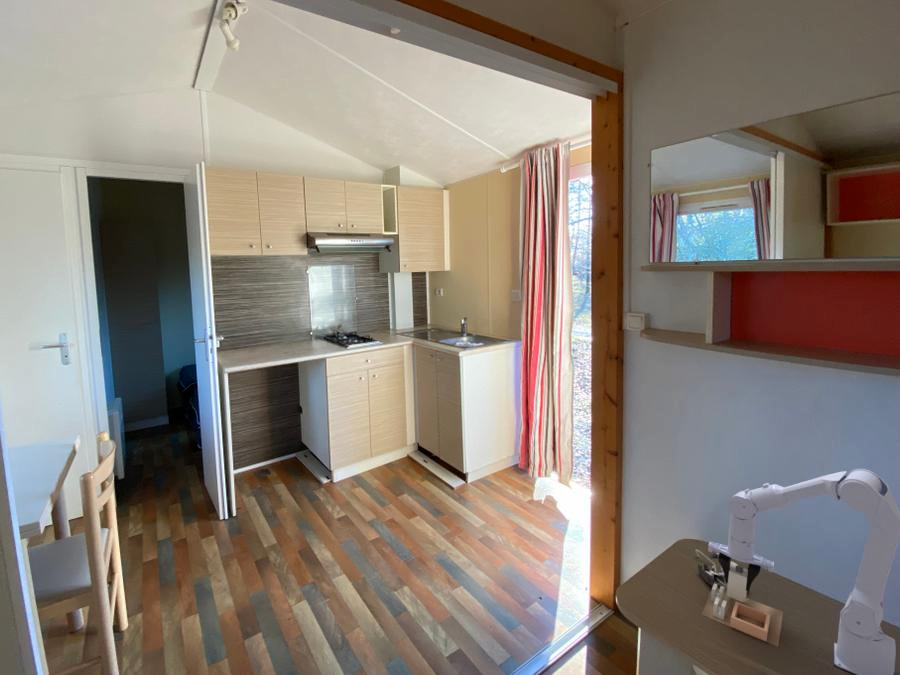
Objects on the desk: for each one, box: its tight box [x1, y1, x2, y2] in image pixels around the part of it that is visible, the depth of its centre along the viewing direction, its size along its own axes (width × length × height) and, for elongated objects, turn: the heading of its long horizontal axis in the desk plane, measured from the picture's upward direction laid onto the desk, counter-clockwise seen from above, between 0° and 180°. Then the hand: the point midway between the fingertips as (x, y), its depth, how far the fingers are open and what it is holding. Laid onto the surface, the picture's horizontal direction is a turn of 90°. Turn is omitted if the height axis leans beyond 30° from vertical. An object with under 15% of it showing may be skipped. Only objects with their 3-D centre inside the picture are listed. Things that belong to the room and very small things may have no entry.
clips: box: [711, 583, 727, 620], centre depth 118 cm, size 4×9×3 cm, turn 140°
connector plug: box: [726, 565, 748, 602], centre depth 119 cm, size 4×4×8 cm
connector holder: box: [730, 602, 770, 642], centre depth 112 cm, size 7×7×2 cm
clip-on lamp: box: [694, 548, 739, 589], centre depth 132 cm, size 12×6×18 cm
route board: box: [701, 586, 784, 648], centre depth 116 cm, size 16×15×1 cm
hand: (737, 585), depth 120 cm, fingers closed on connector plug, 4 cm apart
